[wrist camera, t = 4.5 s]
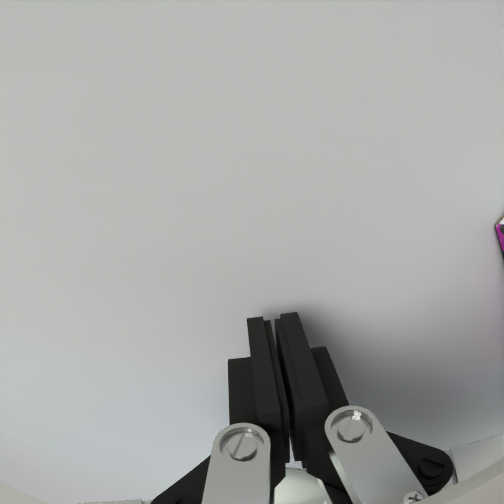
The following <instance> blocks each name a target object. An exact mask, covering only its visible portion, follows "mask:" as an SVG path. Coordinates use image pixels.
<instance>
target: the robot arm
mask: <svg viewBox="0 0 504 504" xmlns="http://www.w3.org/2000/svg"><path fill="white" fill-rule="evenodd" d="M247 326H248V335H249V345H250V354H251V357H246V358H237V359H228V384H229V418H230V426H227V427H226V428H224V429H223V430H221V431H220V432H219V433H218V435H217V436H216V438H215V440H214V443H213V447H212V452H211V455H210V456H209V457H208V458H206V459H205V460H204V461H203V462H201V463H200V464H199V465H198V466H197V467H195V468H194V469H193V470H192V471H190V472H189V473H188V474H186V475H185V476H184V477H183V478H181V479H180V480H179V481H177V482H176V483H175V484H173V485H172V486H171V487H169V488H168V489H167V490H165V491H164V492H162V493H161V494H160V495H158V496H157V497H156V498H155V499H154V500H150V501H142V500H141V499H138V500H127V501H113V502H84V503H79V504H275V487H276V486H277V485H278V484H279V483H280V482H281V481H282V480H283V479H284V478H285V477H286V468H285V463H289V462H290V441H289V435H290V440H291V445H292V450H293V455H294V460H295V462H296V461H301V463H302V467H303V469H304V468H306V470H307V473H308V474H310V475H312V476H314V477H316V478H317V480H318V483H319V486H320V488H321V490H322V492H323V494H324V497H325V499H326V501H327V503H328V504H504V435H503V434H502V435H496V436H492V437H489V438H485V439H482V440H478V441H474V442H470V443H466V444H462V445H458V446H454V447H450V449H449V450H446V451H442V450H440V449H437V448H434V447H431V446H428V445H425V444H422V443H419V442H416V441H413V440H410V439H407V438H404V437H401V436H399V435H396V434H393V433H390V432H388V431H385V429H384V428H383V426H382V425H381V423H380V422H379V420H378V419H377V417H376V416H375V415H374V414H373V413H372V412H371V411H369V410H368V409H366V408H363V407H359V406H349V403H348V400H347V398H346V395H345V393H344V390H343V388H342V385H341V383H340V380H339V378H338V375H337V373H336V370H335V368H334V365H333V363H332V360H331V358H330V355H329V353H328V351H327V349H326V347H325V346H323V347H318V348H311V349H310V347H309V344H308V341H307V338H306V336H305V333H304V330H303V327H302V324H301V321H300V318H299V316H298V313H297V312H293V313H286V314H281V315H280V319H275V332H276V346H275V341H274V337H273V332H272V327H271V323H270V320H265V321H264V319H263V317H254V318H247ZM276 347H277V351H276Z"/></svg>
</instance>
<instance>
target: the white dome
mask: <svg viewBox="0 0 504 504" xmlns="http://www.w3.org/2000/svg"><path fill="white" fill-rule="evenodd" d="M324 501H325V497H324V494H323V492H322V490H321V488H320V486H319V483H318V480H317V478H316V477H314V476H312V475H310V474H308V473H307V471H304V470H298V469H288V468H286V477H285V478H284V479H283V480H282V481H281V482H280V483H279V484H278V485H277V486H276V487H275V504H322V503H323V502H324Z"/></svg>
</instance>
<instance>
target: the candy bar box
mask: <svg viewBox="0 0 504 504" xmlns="http://www.w3.org/2000/svg"><path fill="white" fill-rule="evenodd" d="M496 231H497V234H498V237H499V241H500V244H501V248H502V251H503V255H504V214H503V215H502V217H501V218H500V219H499V220H498V222H497V223H496Z"/></svg>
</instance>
